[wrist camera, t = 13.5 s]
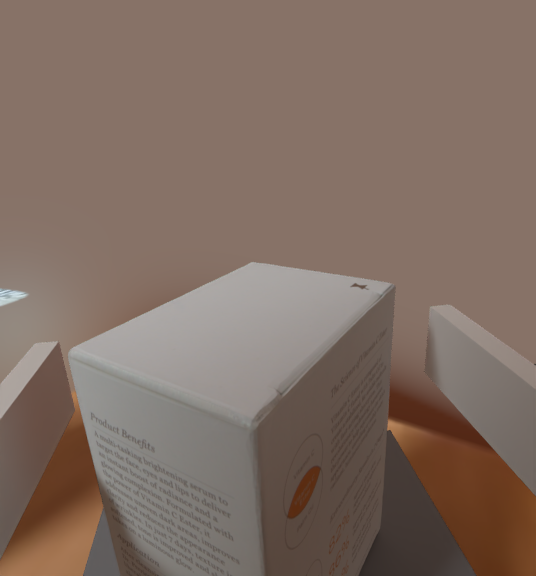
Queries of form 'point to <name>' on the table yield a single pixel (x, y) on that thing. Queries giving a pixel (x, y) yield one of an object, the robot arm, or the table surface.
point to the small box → (243, 425)
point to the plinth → (388, 542)
